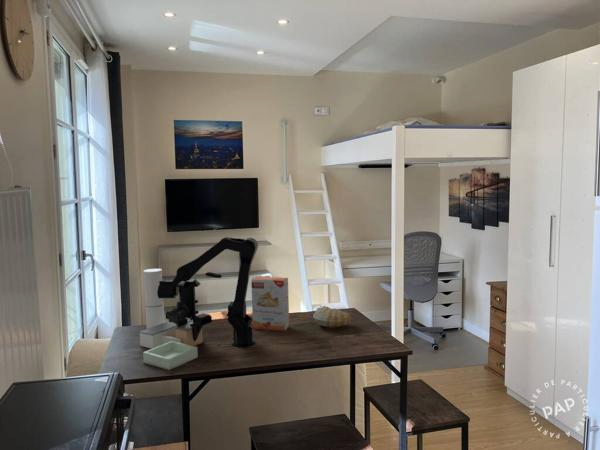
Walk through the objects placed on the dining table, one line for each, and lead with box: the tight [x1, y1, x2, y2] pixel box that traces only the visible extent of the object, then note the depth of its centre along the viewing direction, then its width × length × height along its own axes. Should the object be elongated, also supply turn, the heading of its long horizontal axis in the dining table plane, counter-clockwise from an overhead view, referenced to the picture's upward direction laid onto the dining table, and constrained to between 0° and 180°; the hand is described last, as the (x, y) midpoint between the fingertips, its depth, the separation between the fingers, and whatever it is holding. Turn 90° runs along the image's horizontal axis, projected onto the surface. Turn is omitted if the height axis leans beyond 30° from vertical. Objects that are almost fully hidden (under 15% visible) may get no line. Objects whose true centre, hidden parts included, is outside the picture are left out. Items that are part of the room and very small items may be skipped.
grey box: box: [175, 321, 204, 347], centre depth 173 cm, size 6×8×7 cm
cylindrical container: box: [143, 268, 166, 329], centre depth 190 cm, size 7×7×25 cm
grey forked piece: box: [138, 319, 193, 349], centre depth 177 cm, size 16×20×5 cm
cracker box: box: [251, 275, 290, 332], centre depth 189 cm, size 14×6×21 cm, turn 73°
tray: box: [142, 341, 199, 371], centre depth 159 cm, size 13×13×4 cm
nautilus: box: [312, 304, 352, 329], centre depth 193 cm, size 8×22×15 cm
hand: (189, 339), depth 173 cm, fingers closed on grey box, 5 cm apart
